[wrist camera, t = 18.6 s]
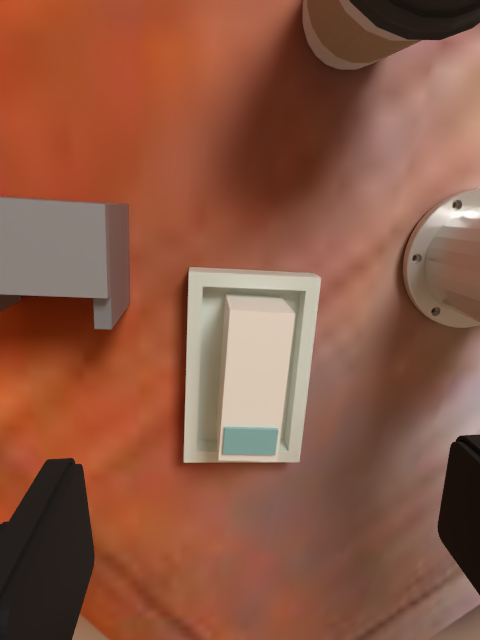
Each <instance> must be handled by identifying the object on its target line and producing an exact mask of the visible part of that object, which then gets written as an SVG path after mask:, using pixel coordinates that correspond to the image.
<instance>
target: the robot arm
mask: <svg viewBox="0 0 480 640" xmlns="http://www.w3.org/2000/svg"><path fill="white" fill-rule="evenodd" d="M452 205H453V207H452ZM413 256H414V259H413V260H412V258H413ZM403 278H404V284H405V288H406V290H407V293H408V296H409V298H410V299H411V301H412V302H413V304H414V306H415V307H416V308H417V309H418V310H419V311H420V312H421V313H422V314H423V315H425V316H427V317H428V318H430V319H431V320H433V321H435V322H438V323H440V324H442V325H445V326H450V327H455V328H468V327H474V326H479V325H480V189H473V190H466V191H462V192H459V193H456V194H453V195H451V196H449V197H447V198H446V199H444V200H442V201H440V202H439V203H438V204H436V205H435V206H434V207H433V208H432V209H430V210H429V211H428V212H427V213H426V214H425V215H424V217H423V218H422V219H421V220H420V221H419V223H418V224H417V226H416V227H415V229H414V231H413V232H412V234H411V236H410V239H409V241H408V244H407V246H406V250H405V254H404V259H403ZM438 533H439V537H440V539H441V541H442V543H443V544H444V545H445V547H446V548H447V550H448V551H449V552H450V554H451V555H452V557H453V558H454V560H455V561H456V562H457V564H458V565H459V567H460V568H461V569H462V571H463V572H464V574H465V575H466V576H467V578H468V579H469V581H470V582H471V584H472V585H473V586H474V588H475V589H476V591H477V592H478V593H479V595H480V435H465V436H459V437H458V438H457V439H456V442H453V443H452V444H451V447H450V452H449V458H448V465H447V471H446V477H445V483H444V489H443V495H442V502H441V508H440V514H439V520H438ZM93 566H94V546H93V539H92V531H91V524H90V516H89V509H88V501H87V494H86V486H85V479H84V472H83V466H82V465H81V464H75V461H74V459H73V458H66V459H49V460H47V461H46V462H45V463H44V465H43V466H42V468H41V470H40V471H39V473H38V475H37V476H36V478H35V480H34V481H33V483H32V485H31V486H30V488H29V489H28V491H27V493H26V494H25V496H24V498H23V499H22V501H21V503H20V504H19V506H18V507H17V509H16V511H15V512H14V514H13V516H12V517H11V519H10V521H9V522H3V523H2V524H0V640H72V637H73V634H74V630H75V627H76V623H77V620H78V617H79V614H80V611H81V607H82V604H83V601H84V597H85V594H86V591H87V587H88V584H89V581H90V577H91V574H92V570H93Z"/></svg>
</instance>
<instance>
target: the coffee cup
mask: <svg viewBox="0 0 480 640" xmlns="http://www.w3.org/2000/svg"><path fill="white" fill-rule="evenodd" d="M302 22H303V28H304V32H305V36H306V40H307V43H308V45H309V46H310V48H311V50H312V51H313V53H314V55H315V56H316V57H317V58H319V59H320V60H321V61H322V62H323V63H324V64H325V65H328V66H330V67H333V68H336V69H341V70H357V69H359V68H362V67H365V66H367V65H370V64H372V63H374V62H377V61H379V60H381V59H383V58H385V57H387V56H389V55H392V54H394V53H396V52H398V51H400V50H402V49H404V48H407V47H409V46H411V45H413V44H415V43H417V42H419V41H422V40H442V39H444V38H447V37H450V36H453V35H455V34H458V33H461V32H463V31H466V30H469V29H471V28H473V27H475V26H476V25H477V24H478V23H480V0H303V18H302Z"/></svg>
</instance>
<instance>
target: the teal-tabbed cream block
mask: <svg viewBox="0 0 480 640" xmlns="http://www.w3.org/2000/svg"><path fill="white" fill-rule="evenodd" d="M294 322H295V313H294V311H293V310H292V309H291V308H290V307H289V306H288V304H287V303H286V302H285V301H284V300H283V299H282V297H281V296H266V295H250V294H234V293H225V307H224V320H223V334H222V348H221V361H220V375H219V388H218V402H217V416H216V431H217V447H218V461H277V459H278V451H279V443H280V435H281V427H282V419H283V410H284V402H285V394H286V386H287V378H288V370H289V362H290V354H291V346H292V338H293V330H294Z"/></svg>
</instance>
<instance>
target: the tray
mask: <svg viewBox="0 0 480 640" xmlns="http://www.w3.org/2000/svg"><path fill="white" fill-rule="evenodd" d="M320 284H321V277H319V276H318V275H316V274H314V273H306V272H285V271H264V270H243V269H222V268H202V267H190V268H189V280H188V317H187V354H186V392H185V429H184V463H205V462H300V453H301V445H302V436H303V428H304V419H305V411H306V402H307V394H308V385H309V377H310V369H311V360H312V352H313V343H314V335H315V326H316V318H317V309H318V301H319V292H320ZM225 293H234V294H250V295H266V296H281V297H282V299H283V300H284V301H285V302H286V303H287V304H288V306H289V307H290V308H291V309H292V310H293V311H294V313H295V322H294V330H293V338H292V346H291V354H290V362H289V370H288V378H287V386H286V394H285V402H284V410H283V419H282V427H281V435H280V443H279V451H278V459H277V461H218V447H217V431H216V416H217V402H218V388H219V375H220V361H221V348H222V334H223V320H224V307H225Z"/></svg>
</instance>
